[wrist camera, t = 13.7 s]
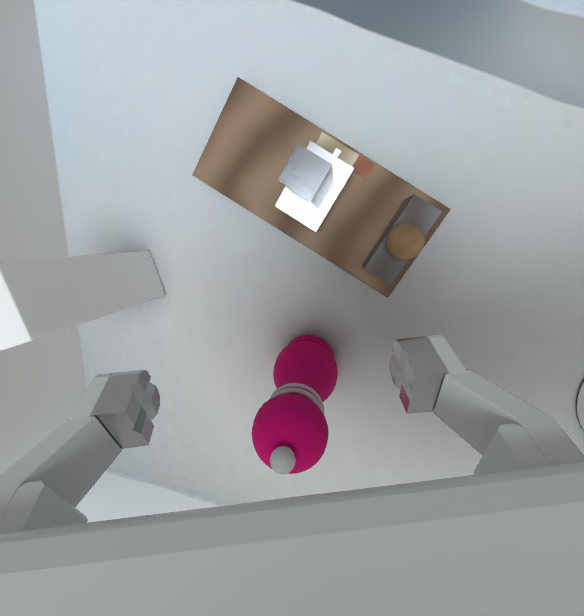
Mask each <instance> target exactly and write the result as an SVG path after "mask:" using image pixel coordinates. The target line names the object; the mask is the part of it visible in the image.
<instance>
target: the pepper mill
mask: <svg viewBox="0 0 584 616" xmlns="http://www.w3.org/2000/svg"><path fill="white" fill-rule="evenodd" d="M273 374H274V381H275V385H276V388H277V389H276V390H275V391H274V392H273V394H272V395H271V397H270V399H269V400H268V401H267V402H265V403H264V404H263V405H262V407H261V408H260V409H259V411H258V413H257V414H256V416H255V419H254V423H253V427H252V439H253V444H254V448H255V450H256V452H257V454H258V456H259V457H260V459H261V460H262V461H263V462H264V463H265V464H266V465H267V466H269V467H270V468H271V469H273V470H274V471H275V472H276V473H278V474H287V473H289V474H293V473H300V472H303V471H305V470H307V469H309V468H311V467H312V466H314V465H315V464H316V463H317V462H318V461H319V460H320V458H321V456H322V455H323V453H324V451H325V448H326V445H327V441H328V425H327V422H326V419H325V416H324V405H323V401H325V400H326V399H327V398H328V397H329V396H330V394H331V393H332V392H333V390H334V388H335V385H336V381H337V375H338V370H337V365H336V362H335V360H334V355H333V352H332V349H331V347H330V346H329V345H328V344H327V342H325V341H324V340H323V339H321V338H319V337H316V336H313V335H304V336H300V337H297V338H296V339H294V340H293V341H292V342H291V343H290V344H289V345H288V346H287V347H286V348H284V349H283V350H282V351H281V353H280V354H279V356H278V357H277V360H276V363H275V366H274V372H273Z"/></svg>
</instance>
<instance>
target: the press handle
mask: <svg viewBox="0 0 584 616" xmlns="http://www.w3.org/2000/svg"><path fill="white" fill-rule="evenodd" d="M340 153H341V150H339V149H338V148H336V149H335V151H334V153H333V154H331V153H329V152H328V151H326V150H324V149H323V148H321V147H320V146H318V145H316V144H315V143H313V142H312V141H310V143H309V145H308V146H307V148H305V147H303V146H302V145H300V144H299V143H298V144H297V146H296V148H295V150H294V152H293V154H292V155H291V157H290V159H289V161H288V163H287V165H286V166H285V168H284V170H283V172H282V174H281V176H280V178H279V179H278V181H279V182H281V183H282V184H283V185H284V186H285V188H284V190H283V192H282V194H281V195H280V197H279V199H278V201H277V203H276V205H275V206H276V207H277V208H279V209H280V210H282V211H284V212H285V213H287V214H288V215H290V216H292V217H293V218H295V219H296V220H298V221H300V222H301V223H303V224H304V225H306V226H308V227H309V228H311V229H312V230H314V231H316V232H318V231H319V229H320V227H321V226H322V224H323V222H324V221H325V219H326V217H327V216H328V214H329V212H330V211H331V209H332V207H333V206H334V204H335V203H336V201H337V199H338V198H339V196H340V194H341V193H342V191H343V189H344V188H345V186H346V184H347V183H348V181H349V179H350V178H351V176H352V174H353V172H354V168H353V167H352V166H350V165H349V164H347V163H345V162H344V161H342V160H341V159H339V158H338V157H339V155H340Z"/></svg>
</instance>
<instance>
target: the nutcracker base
mask: <svg viewBox="0 0 584 616" xmlns="http://www.w3.org/2000/svg"><path fill="white" fill-rule="evenodd" d="M310 141H312V142H313V143H315V144H316V145H318V146H320V147H321V148H323V149H324V150H326V151H328V152H329V153H331V154H333V153H334V151H335V149H336V148H338V149H339V150H341V153H340V155H339V157H338V158H339V159H341V160H342V161H344V162H345V163H347V164H349V165H350V166H352V167H353V168H354V172H353V174H352V176H351V178H350V179H349V181H348V183H347V184H346V186H345V188H344V189H343V191H342V193H341V194H340V196H339V198H338V199H337V201H336V203H335V204H334V206H333V207H332V209H331V211H330V212H329V214H328V216H327V217H326V219H325V221H324V222H323V224H322V226H321V227H320V229H319V231H318V232H316V231H314V230H312V229H311V228H309V227H308V226H306V225H304V224H303V223H301V222H300V221H298V220H296V219H295V218H293V217H292V216H290V215H288V214H287V213H285V212H284V211H282V210H280V209H279V208H277V207H276V206H275V205H276V203H277V201H278V199H279V197H280V195H281V194H282V192H283V190H284V188H285V186H284V185H283V184H282V183H281V182H279V181H278V179H279V178H280V176H281V174H282V172H283V170H284V168H285V166H286V165H287V163H288V161H289V159H290V157H291V155H292V154H293V152H294V150H295V148H296V146H297V144H298V143H299V144H300V145H302V146H303V147H305V148H307V146H308V145H309V143H310ZM193 176H195V177H196V178H198V179H200V180H201V181H203V182H204V183H206V184H208V185H209V186H211V187H212V188H214V189H216V190H217V191H219V192H220V193H222V194H223V195H225V196H227V197H228V198H230V199H231V200H233V201H235V202H236V203H238V204H239V205H241V206H243V207H244V208H246V209H247V210H249V211H251V212H252V213H254V214H255V215H257V216H259V217H260V218H262V219H263V220H265V221H267V222H268V223H270V224H271V225H273V226H275V227H276V228H278V229H279V230H281V231H283V232H284V233H286V234H287V235H289V236H291V237H292V238H294V239H295V240H297V241H299V242H300V243H302V244H303V245H305V246H307V247H308V248H310V249H311V250H313V251H315V252H316V253H318V254H319V255H321V256H323V257H324V258H326V259H327V260H329V261H331V262H332V263H334V264H335V265H337V266H339V267H340V268H342V269H343V270H345V271H347V272H348V273H350V274H351V275H353V276H355V277H356V278H358V279H359V280H361V281H363V282H364V283H366V284H367V285H369V286H370V287H372V288H374V289H375V290H377V291H378V292H380V293H382V294H383V295H385V296H386V297H388V296H389V295H390V294H391V292H392V291H393V289H394V288H395V287H396V285H397V284H398V282H399V281H400V280H401V278H402V277H403V275H404V274H405V273H406V271H407V270H408V268H409V267H410V266H411V264H412V263H413V261H414V260H415V259H416V257H417V256H418V254H419V253H420V252H421V250H422V249H423V247H424V246H425V245H426V243H427V242H428V240H429V239H430V238H431V236H432V235H433V233H434V232H435V231H436V229H437V228H438V226H439V225H440V224H441V222H442V221H443V219H444V218H445V217H446V215H447V214H448V212H449V211H450V209H449V208H448V207H446V206H444V205H443V204H441V203H440V202H438V201H436V200H435V199H433V198H432V197H430V196H428V195H427V194H425V193H424V192H422V191H420V190H419V189H417V188H416V187H414V186H412V185H411V184H409V183H407V182H406V181H404V180H403V179H401V178H399V177H398V176H396V175H395V174H393V173H391V172H390V171H388V170H387V169H385V168H383V167H382V166H380V165H379V164H377V163H375V162H374V161H372V160H371V159H369V158H367V157H366V156H364V155H362V154H361V153H359V152H358V151H356V150H354V149H353V148H351V147H350V146H348V145H346V144H345V143H343V142H342V141H340V140H338V139H337V138H335V137H334V136H332V135H330V134H329V133H327V132H325V131H324V130H322V129H321V128H319V127H317V126H316V125H314V124H313V123H311V122H309V121H308V120H306V119H305V118H303V117H301V116H300V115H298V114H297V113H295V112H293V111H292V110H290V109H288V108H287V107H285V106H284V105H282V104H280V103H279V102H277V101H276V100H274V99H272V98H271V97H269V96H268V95H266V94H264V93H263V92H261V91H260V90H258V89H256V88H255V87H253V86H252V85H250V84H248V83H247V82H245V81H243V80H242V79H240V78H239V77H238V78H237V80H236V82H235V84H234V86H233V89H232V91H231V93H230V95H229V97H228V99H227V102H226V104H225V106H224V108H223V110H222V112H221V114H220V117H219V119H218V121H217V123H216V125H215V127H214V130H213V132H212V134H211V136H210V138H209V140H208V143H207V145H206V147H205V149H204V151H203V153H202V155H201V158H200V160H199V162H198V164H197V166H196V168H195V171H194V173H193Z"/></svg>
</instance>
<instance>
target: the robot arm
mask: <svg viewBox="0 0 584 616" xmlns="http://www.w3.org/2000/svg"><path fill="white" fill-rule="evenodd" d="M392 349H393V351H394V355H393V356H392V357H391V360H390V370H391V376H392V379H393V382H394V384H395V386H397V387H398V388H400V389H401V391H400V399H401V401H402V403H403V406H404V408H405V410H406V413H407V414H409V413H420V412H430V411H433V413H434V414H435V415H437V416H438V417H439V418H440V419H441V420H442V421H443V422H445V423H446V424H447V425H448V426H449V427H450V428H452V429H453V430H454V431H455V432H456V433H457V434H458V435H460V436H461V437H462V438H463V439H464V440H465V441H467V442H468V443H469V444H470V445H471V446H472V447H473V448H475V449H476V450H477V451H478V452H479V453H480V454H482V455H483V456H482V458H481V460H480V461H479V463H478V465H477V467H476V469H475V471H474V474H475V475H470V476H462V477H454V478H446V479H438V480H430V481H422V482H414V483H405V484H397V485H389V486H381V487H373V488H365V489H357V490H348V491H340V492H332V493H324V494H316V495H308V496H300V497H291V498H283V499H275V500H267V501H259V502H251V503H243V504H235V505H227V506H219V507H211V508H204V509H203V508H202V509H194V510H187V511H179V512H170V513H162V514H154V515H146V516H138V517H130V518H122V519H114V520H106V521H97V522H89V523H87V521H88V520H87V517H86V516H85V515H84V514H83V513H81V512H80V511H79V510H78V509H76V508H75V507H76V506H77V505H78V503H79V502H80V501H81V500H82V498H83V497H84V496H85V495H86V494H87V492H88V491H89V490H90V489H91V488H92V486H93V485H94V484H95V483H96V482H97V480H98V479H99V478H100V477H101V475H102V474H103V473H104V472H105V471H106V469H107V468H108V467H109V466H110V464H111V463H112V462H113V461H114V460H115V458H116V457H117V456H118V455H119V454H120V452H121V451H122V449H125V448H131V447H138V446H145V445H149V441H150V438H151V435H152V431H153V428H154V425H153V423H152V421H151V420H152V419H153V418H154V417H155V416H156V415H157V414H158V410H159V406H160V396H159V392H158V389H157V387H156V386H155V385H153V384H152V383H150V382H149V381H150V378H151V376H150V375H149V373H148V371H147V370H138V371H128V372H117V373H109V374H99V375H97V376H95V377H94V378H93V380H92V382H91V384H90V386H89V387H88V389H87V391H86V393H85V395H84V397H83V399H82V401H81V403H80V405H79V407H78V409H77V411H76V412H75V415H74V416H73V418H72V419H68V420H66V421H65V422H64V423H63V424H61V425H60V426H59V427H58V428H56V429H55V430H54V431H53V432H52V433H50V434H49V435H48V436H47V437H46V438H44V439H43V440H42V441H41V442H39V443H38V444H37V445H36V446H35V447H34V448H32V449H31V450H30V451H29V452H27V453H26V454H25V455H24V456H23V457H21V459H19V460H18V461H17V462H15V463H14V464H13V465H12V466H11V467H9V468H8V469H7V470H6V471H5V472H3V473H2V474H1V475H0V616H584V455H583V454H582V453H581V451H580V450H579V449H578V448H577V446H576V445H575V444H574V443H573V441H572V440H571V439H570V438H569V437H568V435H567V434H566V433H565V432H564V430H563V429H562V428H561V427H560V426H559V424H558V423H557V422H556V421H555V419H554V418H553V417H551V416H549V415H548V414H546V413H544V412H543V411H541V410H539V409H537V408H536V407H534V406H532V405H530V404H529V403H527V402H525V401H523V400H522V399H520V398H518V397H516V396H515V395H513V394H511V393H510V392H508V391H506V390H504V389H503V388H501V387H499V386H497V385H496V384H494V383H492V382H490V381H489V380H487V379H485V378H483V377H482V376H480V375H478V374H477V373H475V372H473V371H467V370H466V368H465V367H464V365H463V364H462V363H461V361H460V360H459V358H458V357H457V355H456V354H455V352H454V351H453V349H452V348H451V346H450V345H449V343H448V342H447V340H446V339H445V337H444V336H443V335H441V334H438V335H430V336H425V337H424V336H421V337H414V338H406V339H398V340H395V341H394V342H393V346H392ZM577 414H578V418H579V422H580V424H581V426H582V428H583V430H584V382H583V384H582V386H581V389H580V392H579V395H578V400H577Z"/></svg>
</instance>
